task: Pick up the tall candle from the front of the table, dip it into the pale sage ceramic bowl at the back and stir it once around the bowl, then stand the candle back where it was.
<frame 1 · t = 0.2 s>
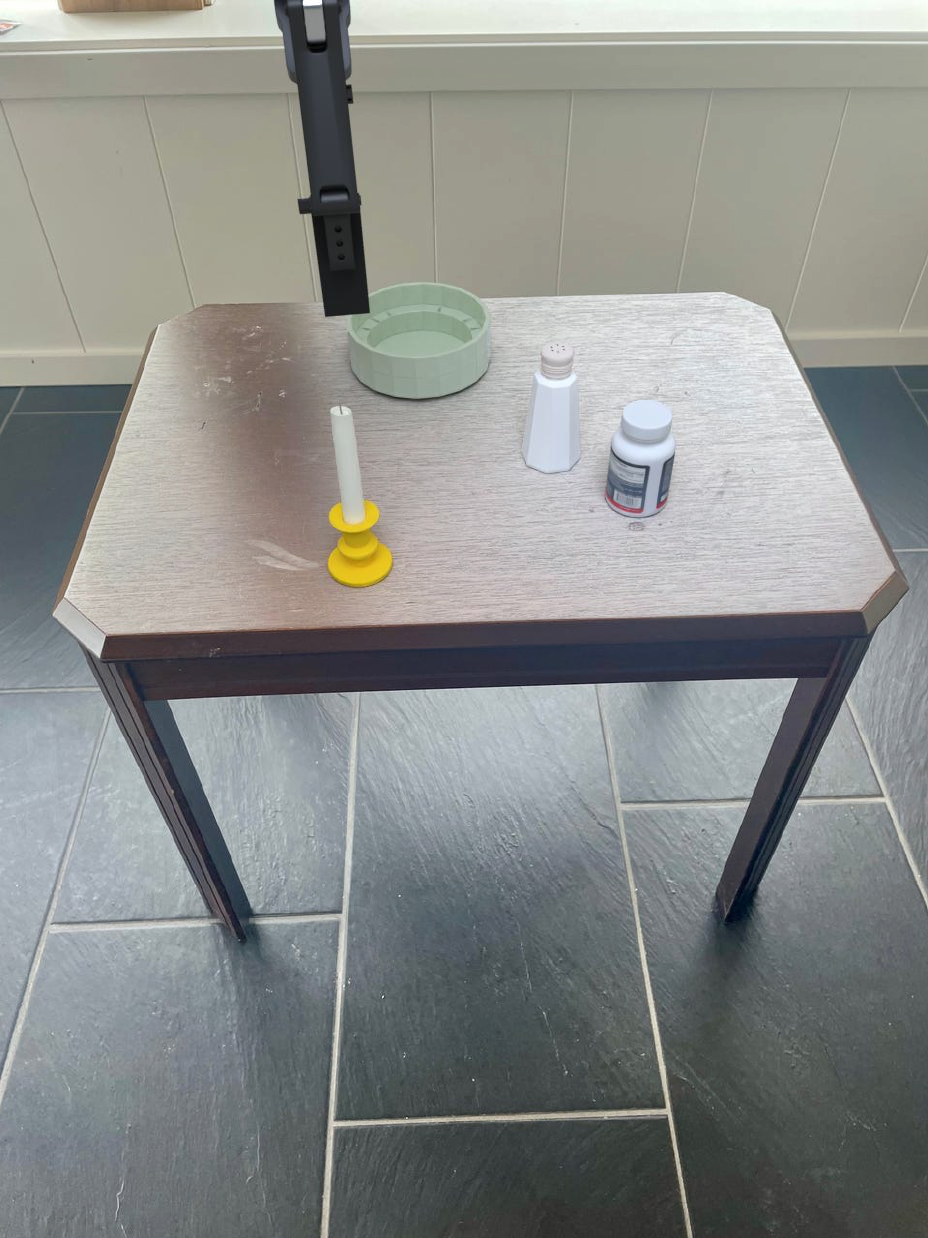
hand: (341, 258, 62), 24 cm above the table, tool pointing down, fingers open, 13 cm apart
pill bottle: (635, 500, 83), on the table
candle: (360, 566, 78), on the table
bowl: (420, 362, 98), on the table
pepper shaker: (550, 457, 87), on the table
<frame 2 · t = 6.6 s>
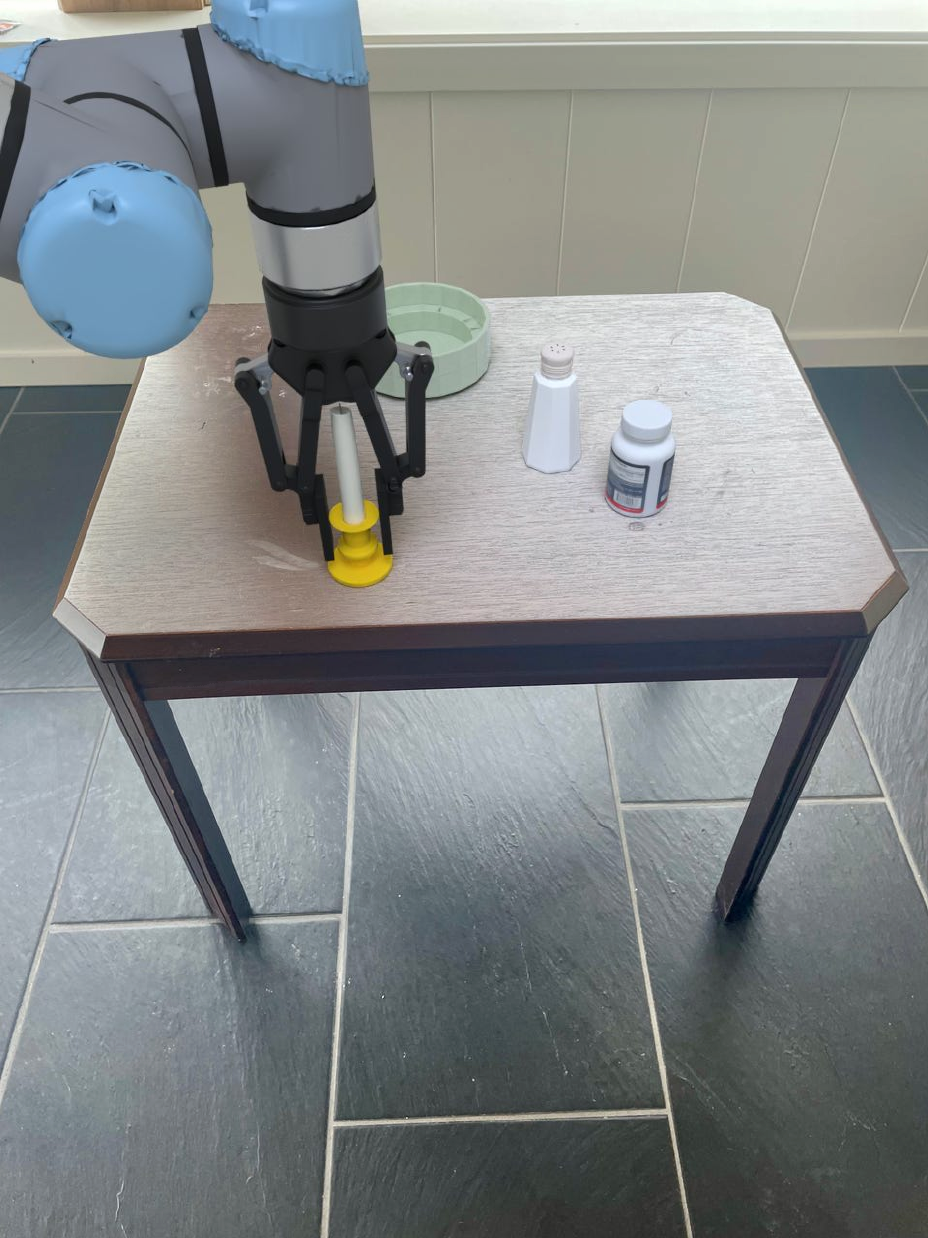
hand: (358, 545, 76), 2 cm above the table, tool pointing down, fingers closed on candle, 4 cm apart
candle: (360, 566, 78), on the table, touching gripper
everything else where it was.
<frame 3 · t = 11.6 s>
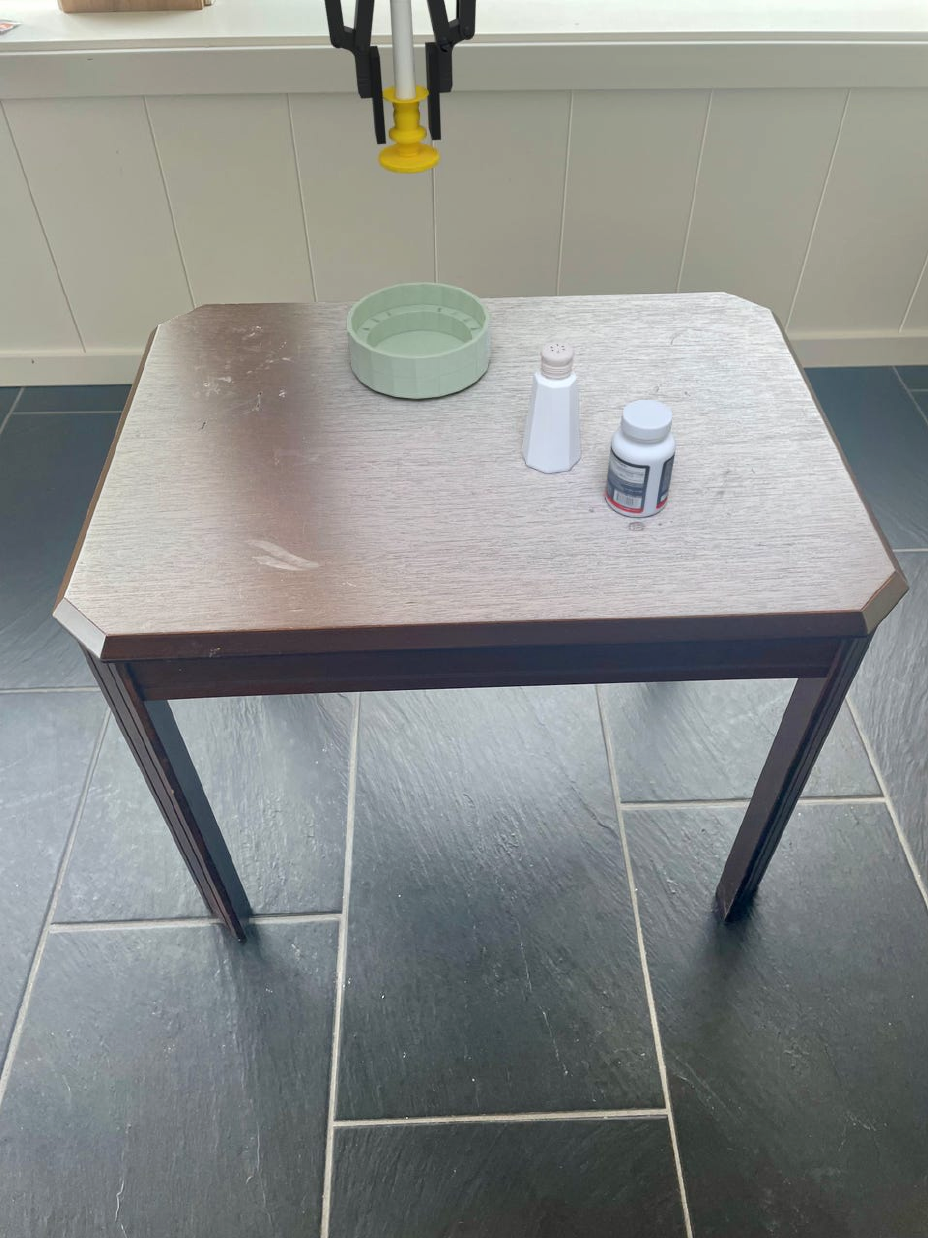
hand: (407, 134, 81), 22 cm above the table, tool pointing down, fingers closed on candle, 4 cm apart
candle: (409, 162, 82), point 20 cm above the table, touching gripper
everything else where it was.
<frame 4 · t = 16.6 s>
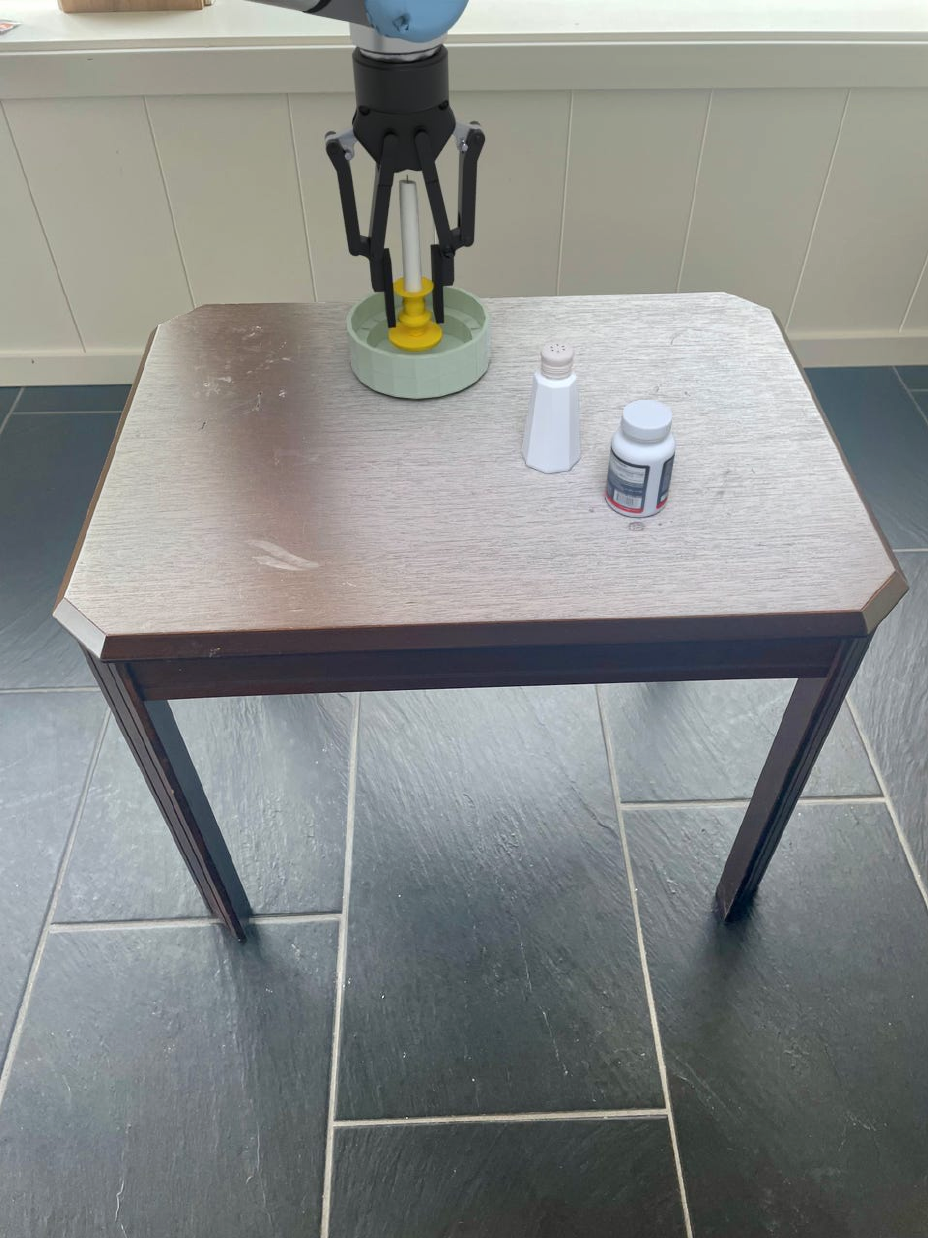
hand: (414, 317, 92), 6 cm above the table, tool pointing down, fingers closed on candle, 4 cm apart
candle: (415, 339, 94), point 4 cm above the table, touching gripper
everything else where it was.
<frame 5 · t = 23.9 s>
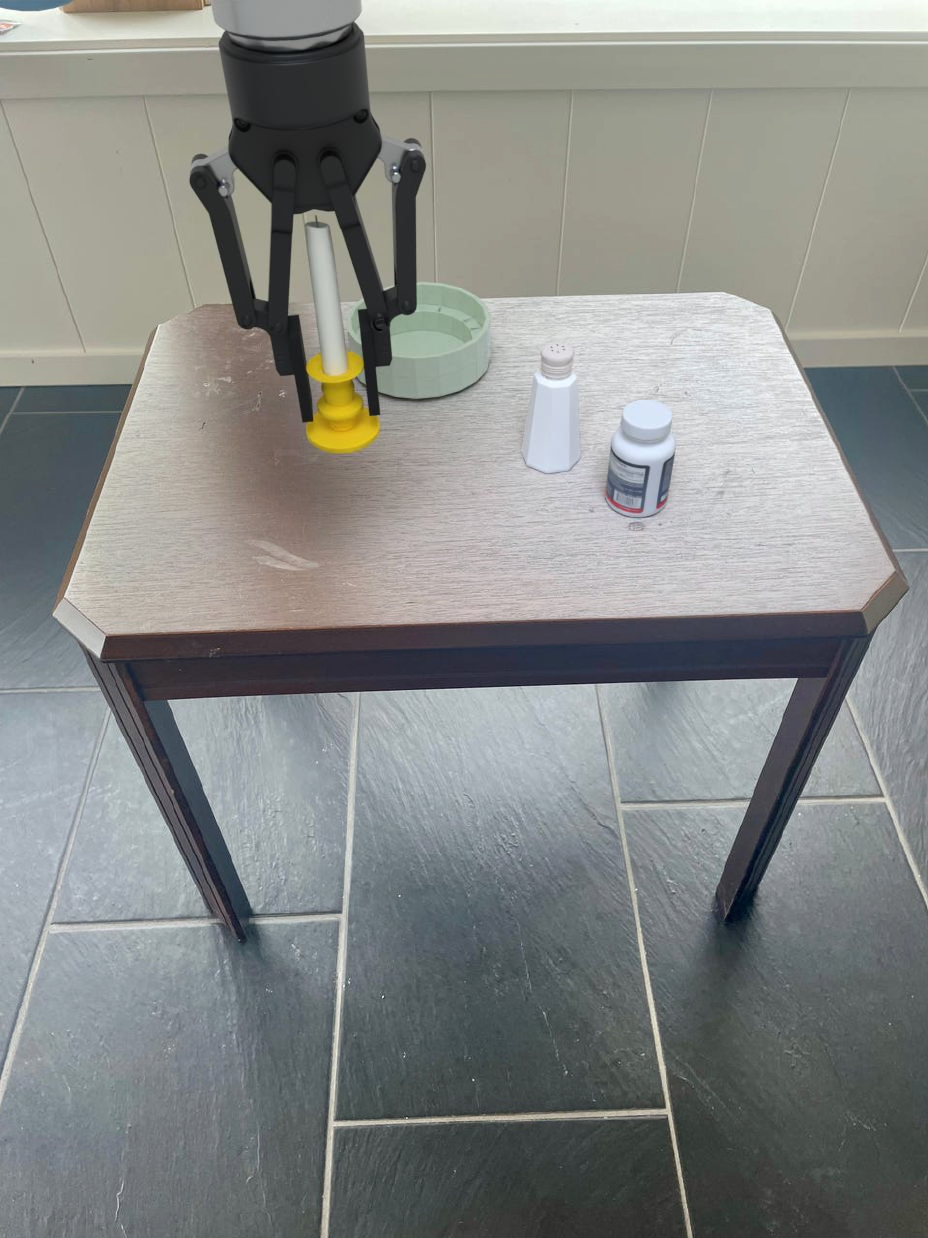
hand: (340, 406, 67), 15 cm above the table, tool pointing down, fingers closed on candle, 4 cm apart
candle: (343, 433, 68), point 13 cm above the table, touching gripper
everything else where it was.
when the fingers open (2 cm above the table, at t = 26.9 s): candle stays where it is, on the table.
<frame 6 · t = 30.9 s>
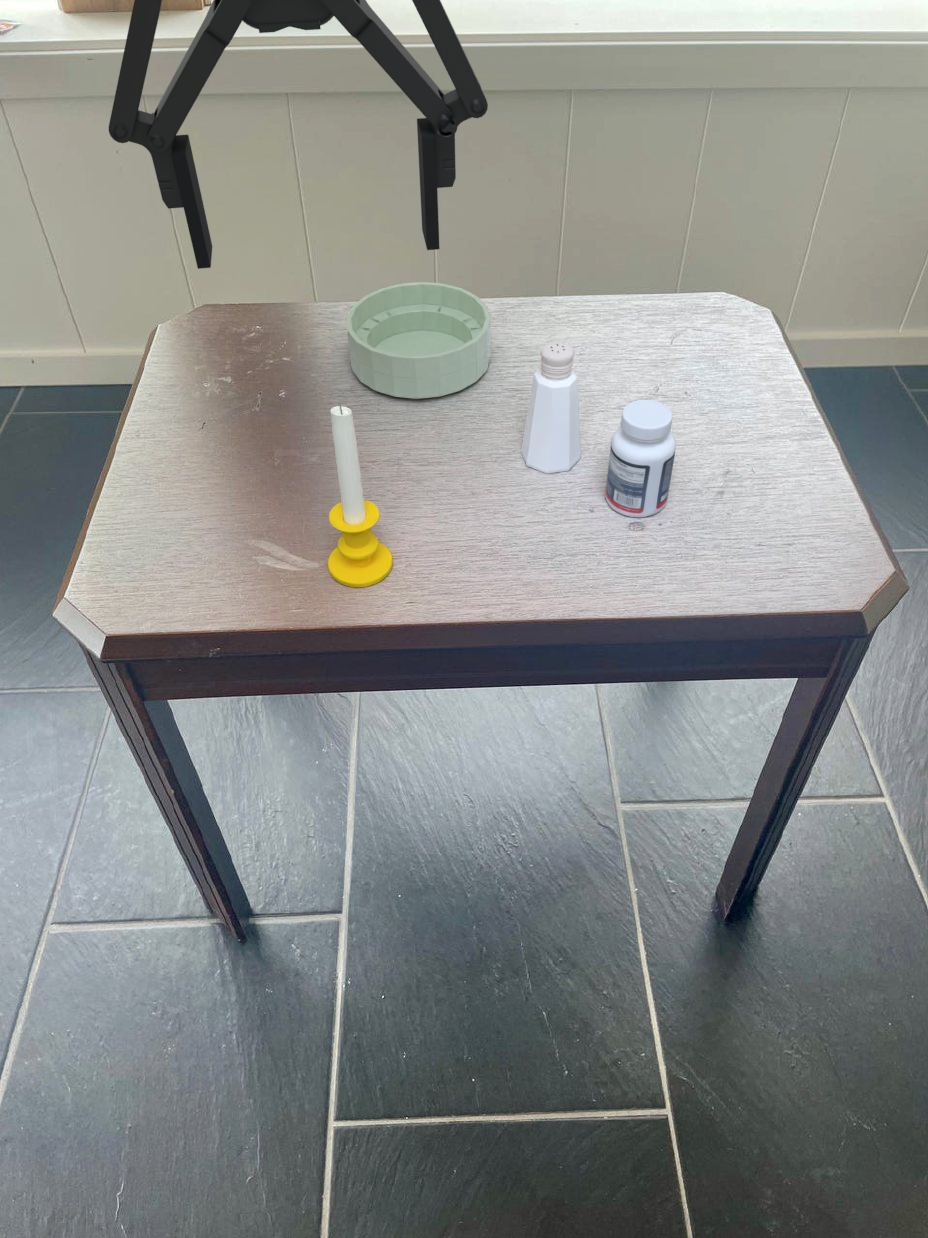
hand: (319, 248, 58), 27 cm above the table, tool pointing down, fingers open, 13 cm apart
candle: (360, 566, 78), on the table
everything else where it was.
at the end: candle tilted 0° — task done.
